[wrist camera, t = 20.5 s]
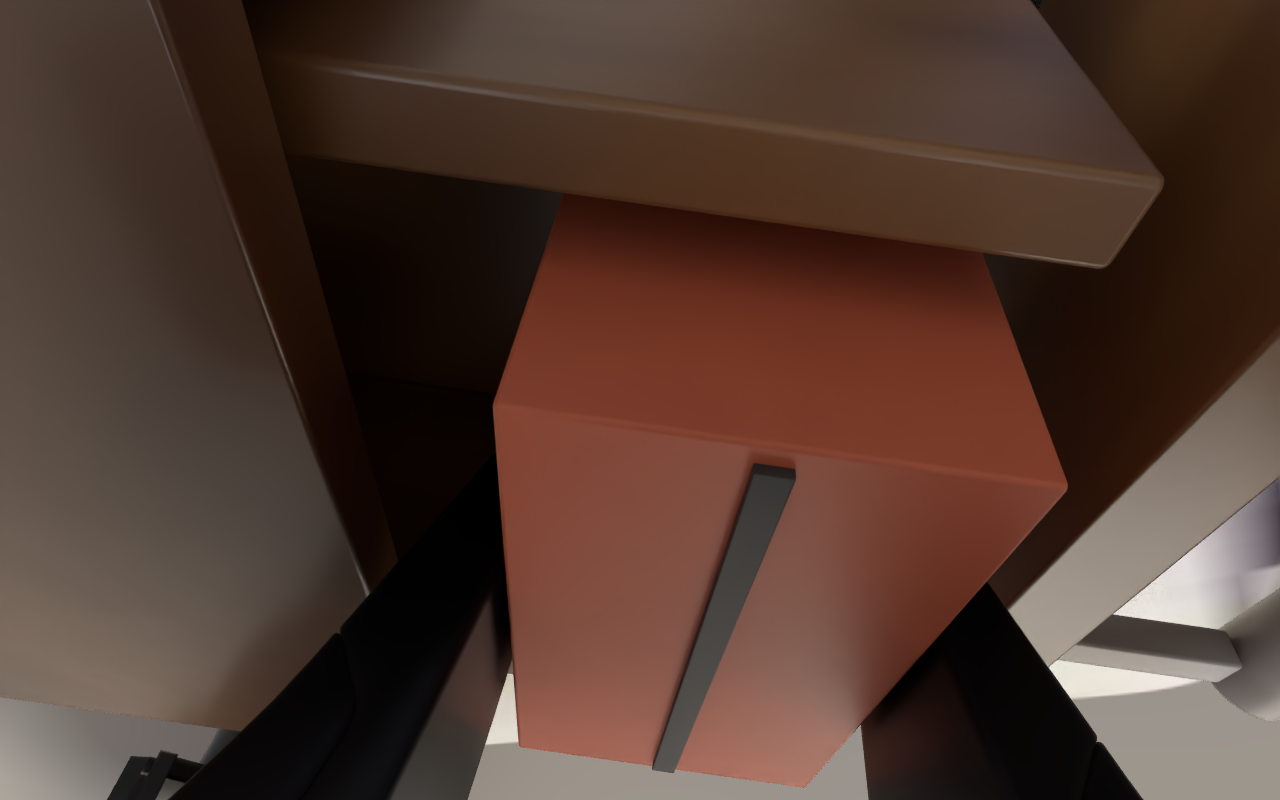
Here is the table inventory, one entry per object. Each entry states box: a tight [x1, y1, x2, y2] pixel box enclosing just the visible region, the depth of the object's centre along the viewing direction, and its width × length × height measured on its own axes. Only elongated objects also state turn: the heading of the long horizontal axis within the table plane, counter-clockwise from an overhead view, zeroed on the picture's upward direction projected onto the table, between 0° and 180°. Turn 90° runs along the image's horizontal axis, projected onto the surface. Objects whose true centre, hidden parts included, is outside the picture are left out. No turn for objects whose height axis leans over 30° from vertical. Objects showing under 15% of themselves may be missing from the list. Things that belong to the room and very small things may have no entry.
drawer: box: [242, 0, 1280, 721], centre depth 11 cm, size 18×11×7 cm, turn 85°
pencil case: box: [493, 193, 1068, 788], centre depth 9 cm, size 7×4×4 cm, turn 175°
